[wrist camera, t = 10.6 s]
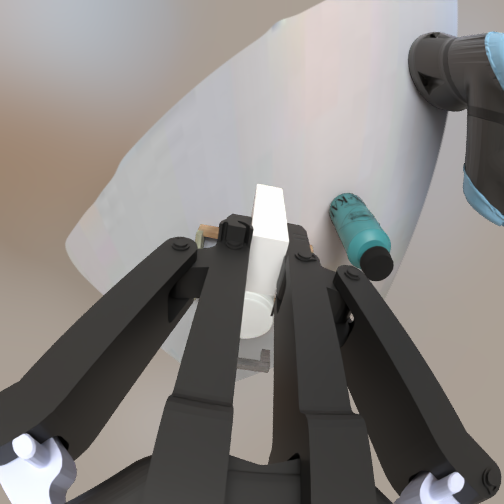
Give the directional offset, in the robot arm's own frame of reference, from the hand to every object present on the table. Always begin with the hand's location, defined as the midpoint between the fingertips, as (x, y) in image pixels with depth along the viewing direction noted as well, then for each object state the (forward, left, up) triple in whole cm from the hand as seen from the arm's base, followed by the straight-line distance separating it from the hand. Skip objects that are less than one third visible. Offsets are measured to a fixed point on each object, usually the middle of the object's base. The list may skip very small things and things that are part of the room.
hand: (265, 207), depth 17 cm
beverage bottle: (-16, +9, -31) cm, 35 cm away
